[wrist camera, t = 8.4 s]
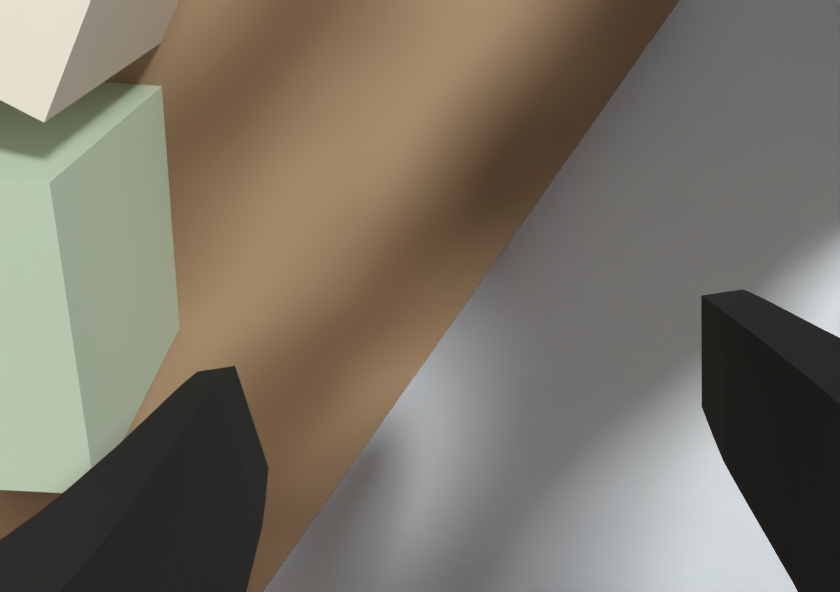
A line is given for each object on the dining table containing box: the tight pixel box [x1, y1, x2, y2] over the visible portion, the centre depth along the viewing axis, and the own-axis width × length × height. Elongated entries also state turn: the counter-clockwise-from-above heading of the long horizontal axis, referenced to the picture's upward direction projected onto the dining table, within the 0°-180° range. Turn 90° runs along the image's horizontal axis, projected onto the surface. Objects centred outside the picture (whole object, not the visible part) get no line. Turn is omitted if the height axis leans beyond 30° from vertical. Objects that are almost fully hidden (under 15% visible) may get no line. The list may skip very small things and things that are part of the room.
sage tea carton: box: [0, 82, 180, 493], centre depth 17 cm, size 4×6×6 cm, turn 176°
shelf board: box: [0, 0, 679, 592], centre depth 20 cm, size 16×24×4 cm
